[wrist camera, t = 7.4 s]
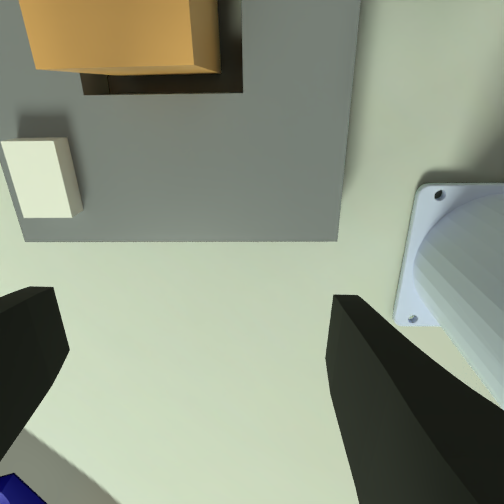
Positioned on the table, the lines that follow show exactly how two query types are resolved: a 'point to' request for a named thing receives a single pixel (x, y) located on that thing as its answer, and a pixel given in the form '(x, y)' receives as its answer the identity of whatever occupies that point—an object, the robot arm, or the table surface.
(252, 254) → the table surface
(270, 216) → the socket plate
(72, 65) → the plug
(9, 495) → the cable clip
